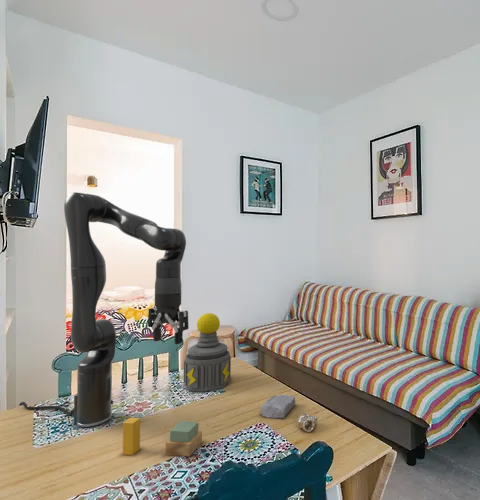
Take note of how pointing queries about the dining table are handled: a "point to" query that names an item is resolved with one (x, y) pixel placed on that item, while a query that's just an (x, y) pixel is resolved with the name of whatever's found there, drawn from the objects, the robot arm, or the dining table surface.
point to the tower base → (184, 446)
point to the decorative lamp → (207, 358)
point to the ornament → (306, 422)
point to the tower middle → (184, 431)
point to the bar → (131, 436)
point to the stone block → (277, 406)
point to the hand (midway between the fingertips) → (167, 342)
